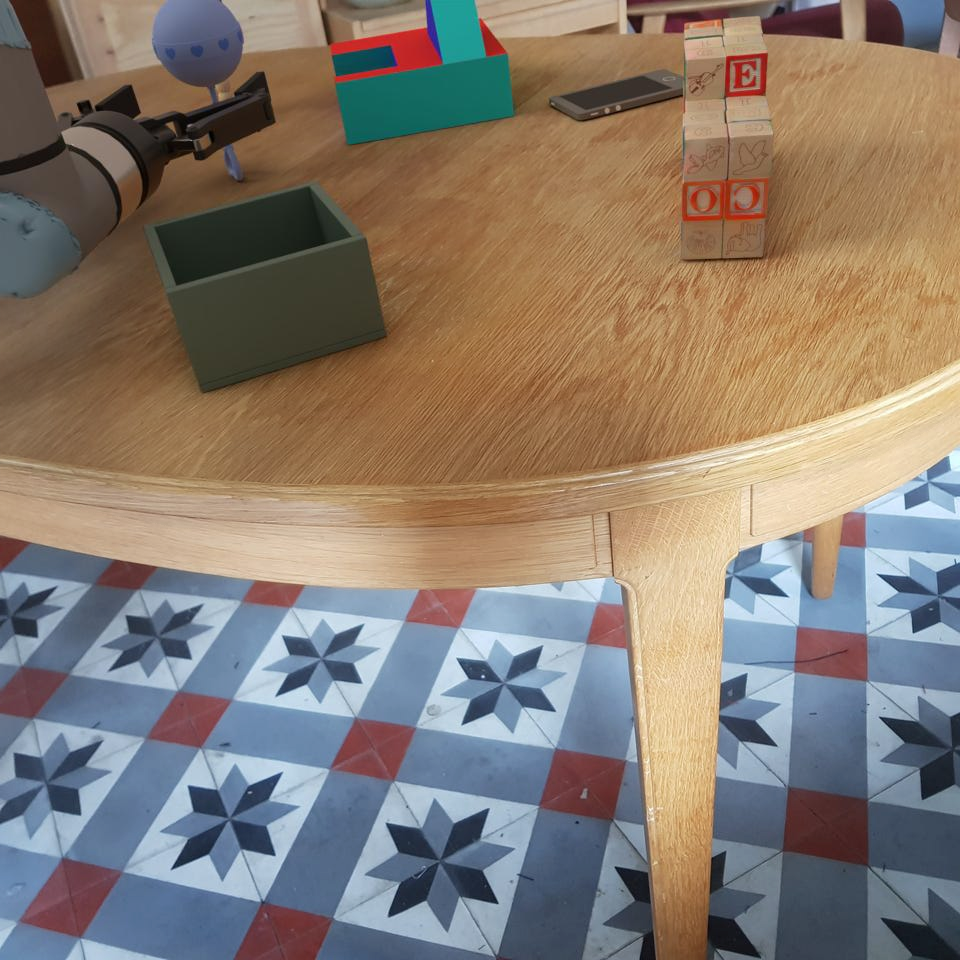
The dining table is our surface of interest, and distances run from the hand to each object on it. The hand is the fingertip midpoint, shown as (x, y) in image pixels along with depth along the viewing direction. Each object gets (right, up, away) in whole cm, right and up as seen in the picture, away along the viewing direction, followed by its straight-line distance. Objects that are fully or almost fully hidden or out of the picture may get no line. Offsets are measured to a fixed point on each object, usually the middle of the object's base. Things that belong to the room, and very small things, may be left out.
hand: (197, 92), depth 91 cm
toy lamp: (-4, +8, +28) cm, 30 cm away
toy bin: (+12, -26, -19) cm, 34 cm away
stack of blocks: (+47, -14, -12) cm, 51 cm away
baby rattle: (+2, -6, +9) cm, 11 cm away
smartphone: (+43, +5, +15) cm, 46 cm away
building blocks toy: (+20, +9, +24) cm, 33 cm away
